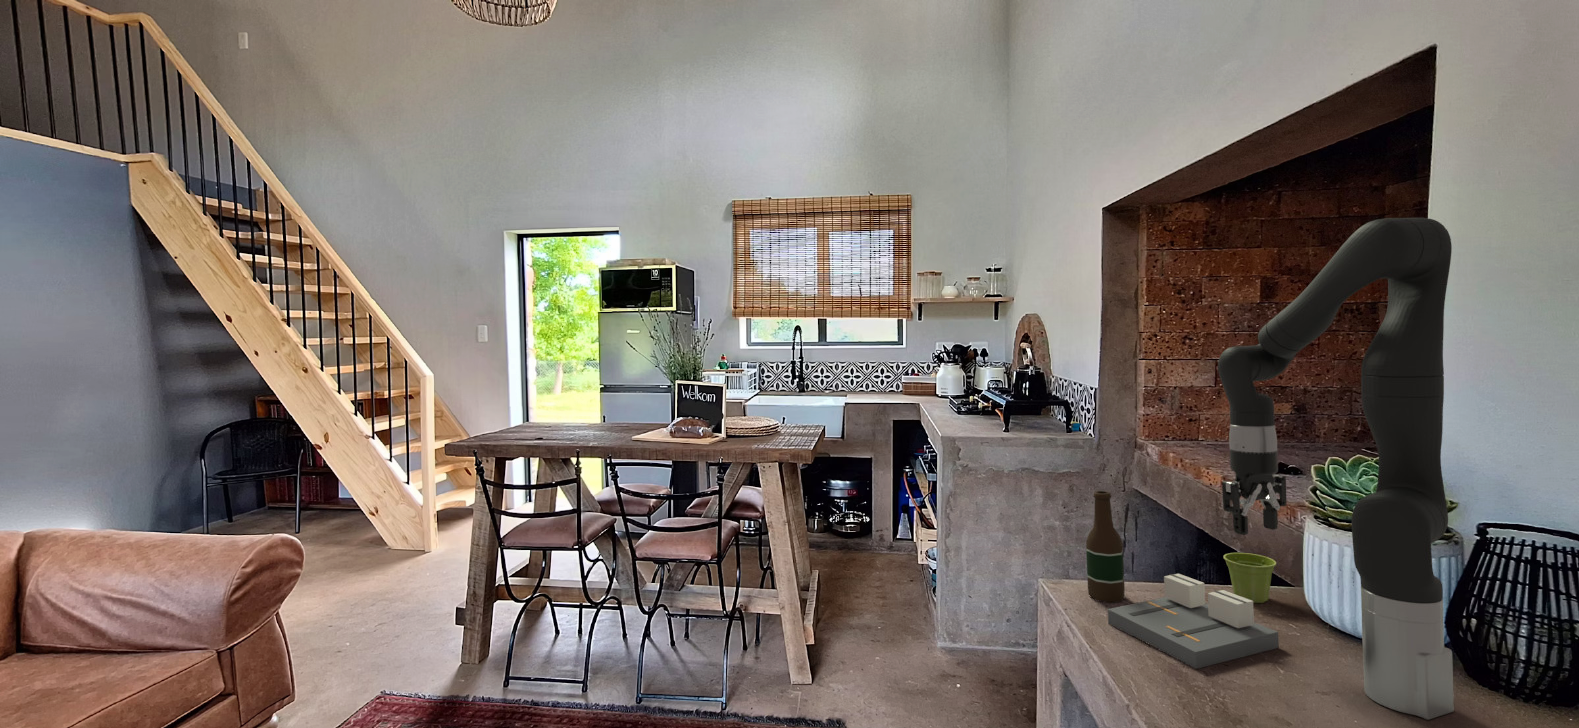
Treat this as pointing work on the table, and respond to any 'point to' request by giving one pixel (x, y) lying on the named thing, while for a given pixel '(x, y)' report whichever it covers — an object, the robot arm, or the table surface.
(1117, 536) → the beer bottle
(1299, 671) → the table surface
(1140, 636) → the fader board
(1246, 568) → the plant pot
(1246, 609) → the block
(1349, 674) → the table surface
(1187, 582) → the block
